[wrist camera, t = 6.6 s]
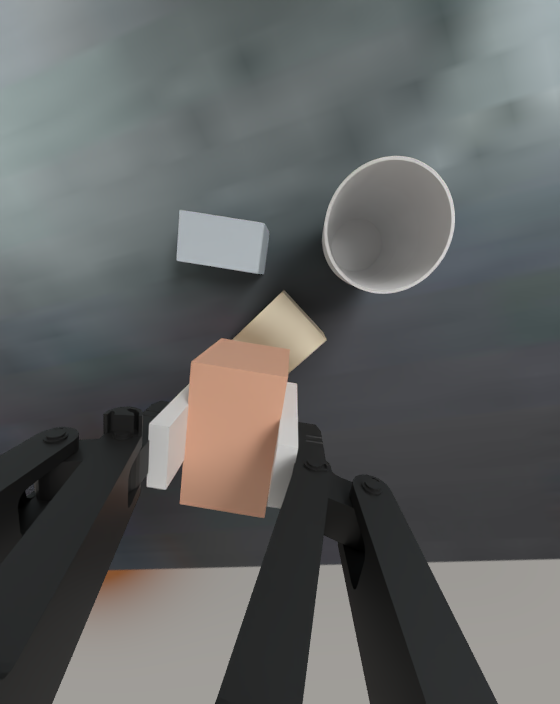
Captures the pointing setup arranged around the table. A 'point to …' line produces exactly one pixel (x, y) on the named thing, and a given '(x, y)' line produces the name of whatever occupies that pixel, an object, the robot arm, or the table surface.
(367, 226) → the cup
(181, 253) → the slate block
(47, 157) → the table surface
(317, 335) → the maple block
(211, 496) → the terracotta block
